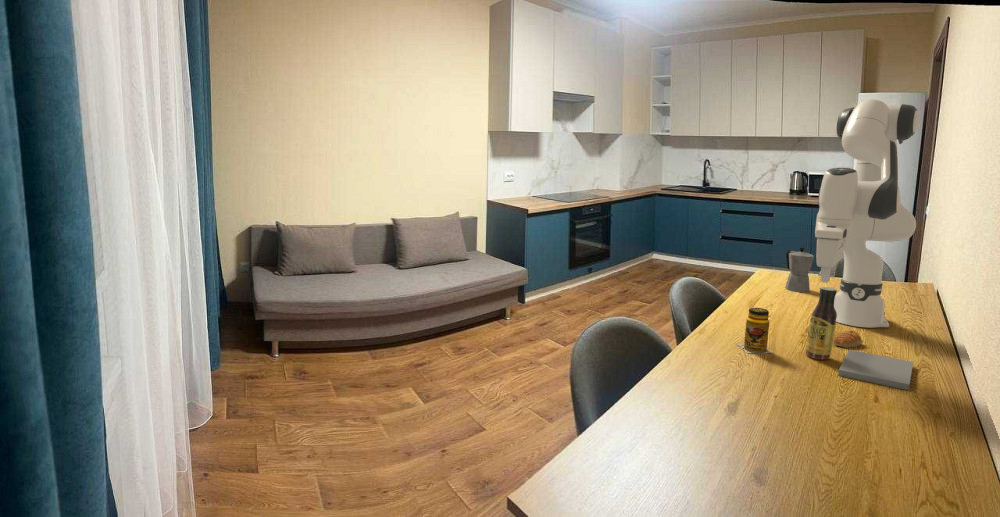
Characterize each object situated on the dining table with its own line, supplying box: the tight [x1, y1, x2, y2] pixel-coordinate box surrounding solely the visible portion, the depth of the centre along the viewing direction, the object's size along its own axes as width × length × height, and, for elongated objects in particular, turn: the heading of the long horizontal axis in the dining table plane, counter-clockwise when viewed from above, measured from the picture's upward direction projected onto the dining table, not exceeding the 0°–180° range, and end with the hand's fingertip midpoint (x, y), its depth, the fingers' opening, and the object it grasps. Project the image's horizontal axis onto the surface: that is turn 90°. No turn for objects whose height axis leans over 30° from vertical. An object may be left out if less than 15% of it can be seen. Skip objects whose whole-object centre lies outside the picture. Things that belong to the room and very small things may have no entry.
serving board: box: [837, 349, 914, 391], centre depth 155 cm, size 20×15×2 cm
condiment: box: [735, 307, 774, 354], centre depth 170 cm, size 7×8×12 cm
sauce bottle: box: [805, 286, 838, 361], centre depth 163 cm, size 7×6×20 cm
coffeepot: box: [784, 246, 815, 293], centre depth 246 cm, size 15×9×18 cm, turn 12°
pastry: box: [833, 330, 863, 349], centre depth 177 cm, size 9×7×4 cm
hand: (827, 279), depth 161 cm, fingers open, 8 cm apart
